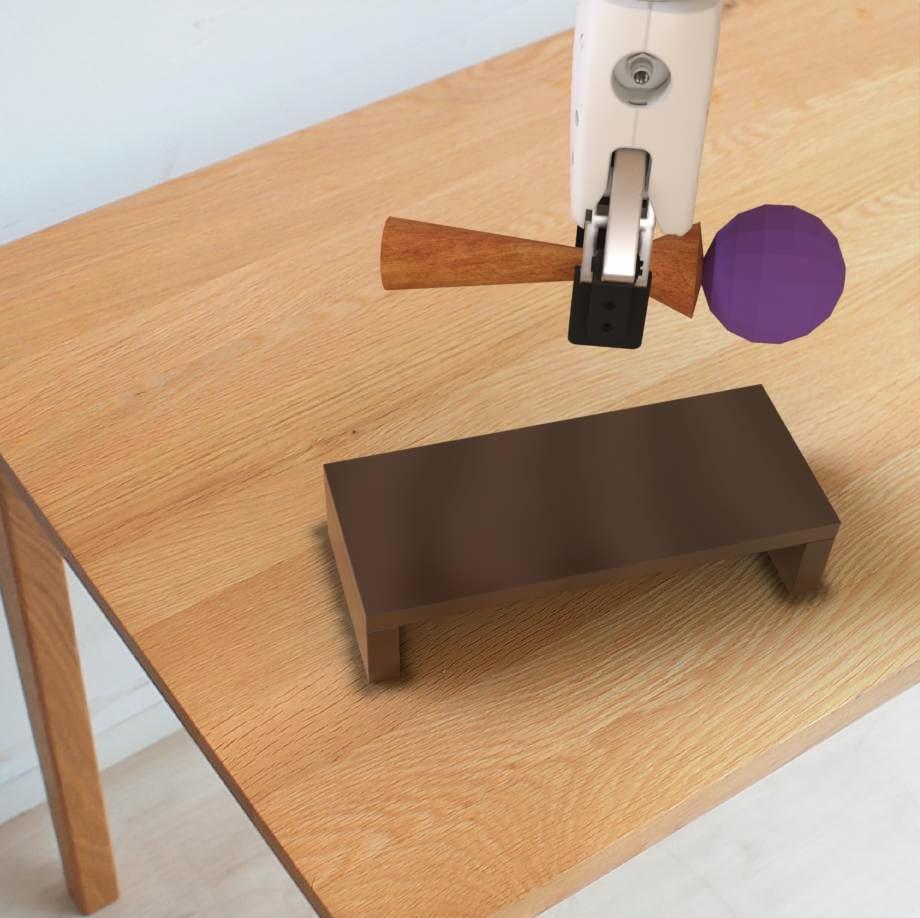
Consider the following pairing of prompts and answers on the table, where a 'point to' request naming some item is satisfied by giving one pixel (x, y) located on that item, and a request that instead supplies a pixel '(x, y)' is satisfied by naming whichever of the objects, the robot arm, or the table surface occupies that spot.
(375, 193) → the table surface
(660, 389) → the table surface
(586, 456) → the shelf
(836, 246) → the kendama
